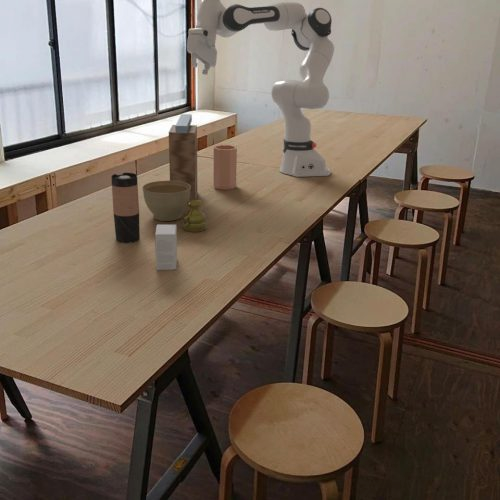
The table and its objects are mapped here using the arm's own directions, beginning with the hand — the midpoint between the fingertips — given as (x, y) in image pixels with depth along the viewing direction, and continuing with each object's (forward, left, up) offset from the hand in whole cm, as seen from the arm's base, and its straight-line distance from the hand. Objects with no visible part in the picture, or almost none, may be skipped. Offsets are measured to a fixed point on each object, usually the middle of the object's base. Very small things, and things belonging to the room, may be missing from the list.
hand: (199, 70), depth 241 cm
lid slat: (+4, +34, -16) cm, 38 cm away
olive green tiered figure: (-2, +71, -43) cm, 83 cm away
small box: (+4, +100, -43) cm, 109 cm away
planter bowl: (+8, +60, -43) cm, 74 cm away
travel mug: (+18, +81, -43) cm, 94 cm away
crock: (-11, +22, -42) cm, 49 cm away
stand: (+4, +38, -42) cm, 57 cm away
